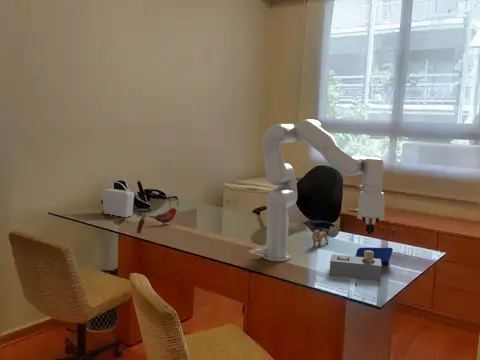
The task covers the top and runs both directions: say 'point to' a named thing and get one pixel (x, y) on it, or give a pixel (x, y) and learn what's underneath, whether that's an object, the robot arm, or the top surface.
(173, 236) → the top surface
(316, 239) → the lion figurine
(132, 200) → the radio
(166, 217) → the decorative bird figurine
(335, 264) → the block
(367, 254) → the peg
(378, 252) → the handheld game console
